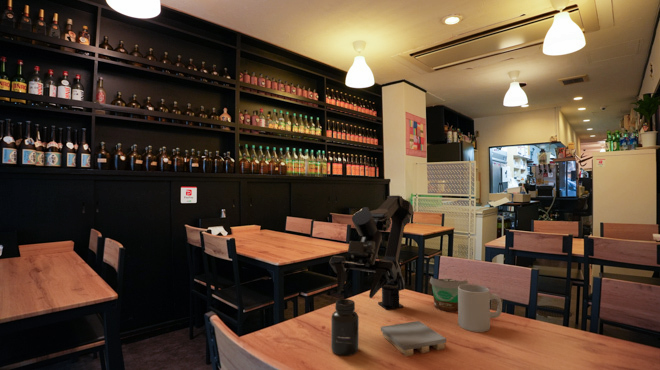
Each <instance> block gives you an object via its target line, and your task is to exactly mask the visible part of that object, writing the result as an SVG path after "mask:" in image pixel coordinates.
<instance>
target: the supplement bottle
mask: <svg viewBox="0 0 660 370" xmlns="http://www.w3.org/2000/svg"><path fill="white" fill-rule="evenodd" d="M355 306H356V305H355V301H354V300H352V299H348V298H340V299H338V300H336V301H335V307H334V309H335V311H333V313H332V314H331V330H330V332H331V336H330V337H331V340H330V342H331V345H330V346H331V347H330V348H331V350H332V352H333V353H334V354H336V355H338V356H344V357H349V356H353V355H355V354H357V353H358V351H359V339H360V338H359V333H360V332H359V329H360V327H359V325H360V324H359V323H360V321H359V319H360V318H359V315H358V313H357V311H355V310H356V309H355V308H356V307H355Z"/></svg>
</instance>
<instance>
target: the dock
mask: <svg viewBox="0 0 660 370" xmlns="http://www.w3.org/2000/svg"><path fill="white" fill-rule="evenodd" d="M380 331H381V332H382V336H383V338H384V339H386V340H387V341H388V342H389V343H390V344H391V345H392V346H394V347H395V349H396V350H398V351H399V352H400V353H402V354H403V355H404V356H405V357H410V356H414V349H416V350H417V351H419V352H420V353H421V354H424V353H430V346H432V347H433V348H434V349H435V350H436V351H441V350H445V345H446V343H447V338H446V337H444V336H443V335H441V334H440V333H438V332H436V331H435V330H434V329H432V328H431V327H429V326H427V325H426V324H425V323H423V322H421V321H420V320H415V321H409V322H404V323H397V324H390V325H385V326H380Z"/></svg>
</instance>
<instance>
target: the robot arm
mask: <svg viewBox="0 0 660 370" xmlns="http://www.w3.org/2000/svg"><path fill="white" fill-rule="evenodd" d="M413 215H414V207H413V205H412V203H411V202H410V201H408V200H407V199H404V198H403V196H401V195H388V196H386V200H385V201H384V202H383V203H382V204H381V205H380V206H379V207H378V208H377V209H373V210H370V208H369V207H362V208H361V210H358V211H357V212H355V213H354V214H353V215H352V217H351V221H352V223H353V226H354V227H355V230H356V232H357V233H358V236H360V237H361V239H360V241H354V240H349V242H348V249H347V253H348V254H351V256H350V258H351V259H352V260H353V261H347V258H346V257H345V256H343V255H342V256H341V255H333V256H331V257H330V259H329V262H328V264H329V265H330V266H331V268H332V270H333V272H334V273H335V274H336V276H337V277H336V279H337V280H336V281H337V282H336V284H337V286H336V287H337V289H336V290H337V293H338V294H340V293H342V291H343V288H344V286H345V283H346V281H347V279H348V273H349V271H350V270H355V271H362V272H370V273H374V278H373V281H372V284H371V288H370V290H369V295H368V296H369V298H370V299H372V298H373V297H375V295H376V294H377V293H378V292H379V291H380V290H381V301H378V302H377V304H378V305H379V306H381V307H382V308H384V309H385V310H392V309H393V310H394V309H400V308H401V309H402V308H404V305H402V304H401V303H400V292H401V291H404V290H405V285H406V284H405V279H404V277H403V276H404V275H403V274H402V270H401V266H400V265H399V258H400V252H401V248H402V242H403V236H404V231H405V227H406V225H408V224H409V223H410V221H411V219H412V216H413ZM389 228H390V232H389V235H388V239H387V246H386V251H385V254H384V258H383V259H379V260H378V258H379V253H378V252H379V248H380V245H382V244H383V239H382V238H383V235H382V232H387V231H388V230H389ZM376 260H378V262H377V264H375V263H376Z"/></svg>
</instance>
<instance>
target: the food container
mask: <svg viewBox="0 0 660 370" xmlns="http://www.w3.org/2000/svg"><path fill="white" fill-rule="evenodd" d="M429 284H431V286H432V287H431V288H432V296H433V304H434V305H433V306H434V307H435V308H436V309H437V310H439V311H442V312H446V313H458V286H460V285H464V284H469V281H468V280H467V278H466V279H465V280H456V279H452V278H435V277H433V276H432V275H431V276H430V279H429Z"/></svg>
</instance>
